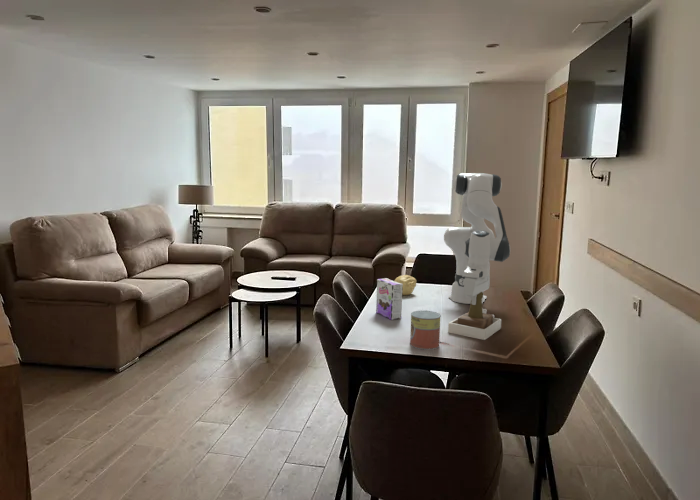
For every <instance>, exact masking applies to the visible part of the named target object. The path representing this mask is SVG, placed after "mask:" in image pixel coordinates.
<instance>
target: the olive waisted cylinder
mask: <svg viewBox="0 0 700 500" xmlns="http://www.w3.org/2000/svg"><path fill="white" fill-rule="evenodd" d="M483 295H484V291H483V292H480V293H479V294H477V297H476V300H477V304H476V305H472V304H471V303H470V305H469V308H468V309H469V310H468V312H469V314H468V316H469V317H471V318H483V312H482V309H483V303H482V298H483ZM471 302H472V300H471Z"/></svg>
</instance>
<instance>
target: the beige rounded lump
mask: <svg viewBox="0 0 700 500" xmlns="http://www.w3.org/2000/svg"><path fill="white" fill-rule="evenodd" d="M394 281H395V282H398V283H401V284H403V290H402V296H408V295H412V294H413V293H414V290H415V287H416V286H417V279H416V278H415V277H413V276H411V275H409V274H404V275H399V276H398V277H396V278H395V279H394Z"/></svg>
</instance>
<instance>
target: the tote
mask: <svg viewBox="0 0 700 500" xmlns="http://www.w3.org/2000/svg"><path fill="white" fill-rule="evenodd" d="M466 313H467V312H466ZM466 313H464V314H466ZM459 317H460V316H458V317H456V318H455V319H453V320H451V321H449V322H448V327H447V333H449V334H450V333H451V334H453V335H458V336H464V337H469V338H473V339H479V340H483V341H486V340H487V339H488V338H490V337H491V336H493V334H495V333H497V332H498V331H499V330H501V329H502V318H497V317H494V318H493V324H491V325H490V326H488V327H487V328H485V329H480V328H475V327H470V326H465V325H460V324H458V318H459Z"/></svg>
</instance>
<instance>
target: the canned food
mask: <svg viewBox="0 0 700 500" xmlns="http://www.w3.org/2000/svg"><path fill="white" fill-rule="evenodd" d="M441 317H442V315H441V314H440V313H439V312H435V311H432V310H416V311H412V312H411V313H410V336H409V337H410V339H409V345H410V346H411V347H413V348H415V349H418V350H424V351H425V350H426V351H427V350H435V349H437V348H439V347H440V336H441V335H440V334H441V332H440V331H441Z"/></svg>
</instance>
